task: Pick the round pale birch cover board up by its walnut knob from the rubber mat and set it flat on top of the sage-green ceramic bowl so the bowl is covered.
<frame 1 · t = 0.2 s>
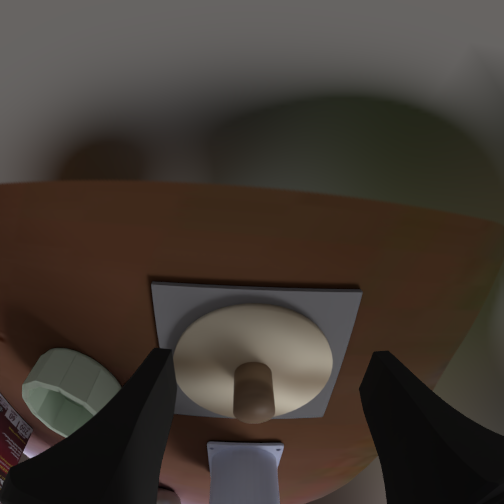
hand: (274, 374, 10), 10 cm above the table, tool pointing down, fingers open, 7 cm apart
bowl: (81, 383, 24), on the table
plastic bottle: (162, 489, 35), on the table
cover board: (252, 367, 23), resting on mat
supplement box: (8, 407, 28), on the table
mat: (252, 364, 23), on the table
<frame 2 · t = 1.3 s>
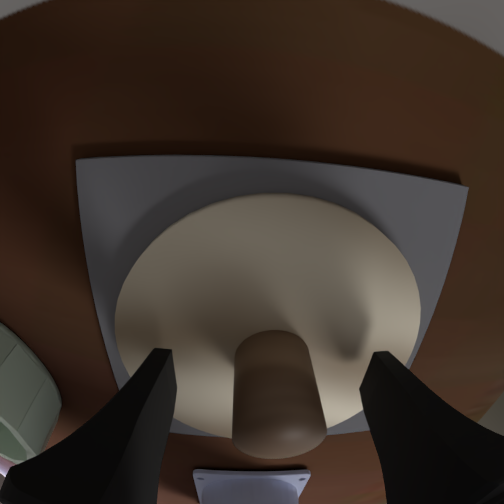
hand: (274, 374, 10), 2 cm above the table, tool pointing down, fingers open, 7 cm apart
bowl: (4, 369, 14), on the table
cover board: (270, 345, 12), resting on mat
mat: (270, 339, 12), on the table
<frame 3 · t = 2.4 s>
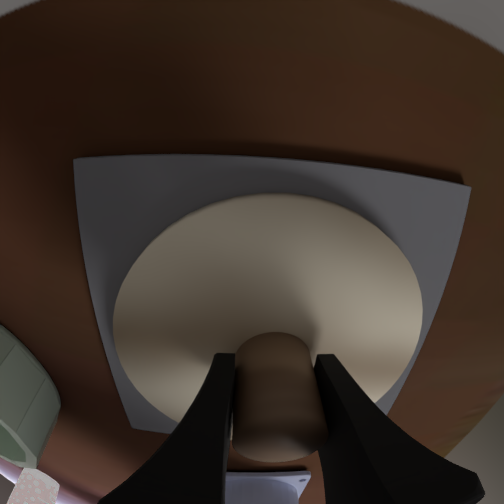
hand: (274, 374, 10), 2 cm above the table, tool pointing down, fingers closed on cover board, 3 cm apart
bowl: (3, 370, 13), on the table
cover board: (271, 347, 12), resting on mat, touching gripper
beverage cup: (42, 475, 21), on the table
mat: (270, 340, 12), on the table
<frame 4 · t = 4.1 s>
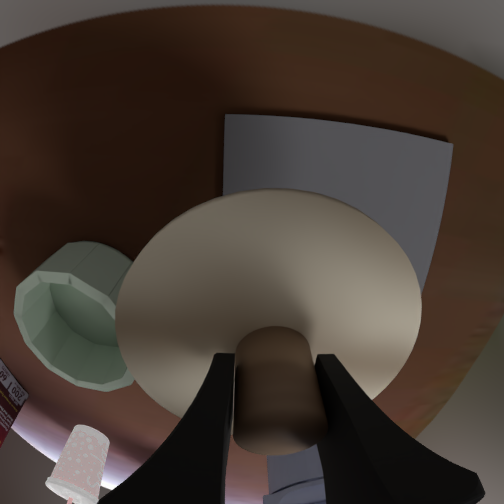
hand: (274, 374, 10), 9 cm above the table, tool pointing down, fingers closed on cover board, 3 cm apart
bowl: (97, 299, 20), on the table
cover board: (271, 341, 12), point 8 cm above the table, touching gripper
beverage cup: (92, 434, 28), on the table
mat: (339, 240, 19), on the table
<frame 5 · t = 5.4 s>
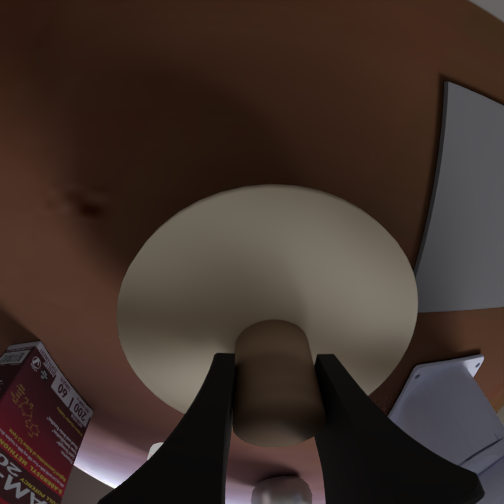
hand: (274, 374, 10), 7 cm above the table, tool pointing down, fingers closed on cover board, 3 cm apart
plastic bottle: (280, 479, 28), on the table
cover board: (270, 335, 12), point 5 cm above the table, touching gripper
supplement box: (51, 377, 21), on the table
when the fingers open (7 cm above the table, at t = 6.0 s): cover board stays where it is, resting on bowl.
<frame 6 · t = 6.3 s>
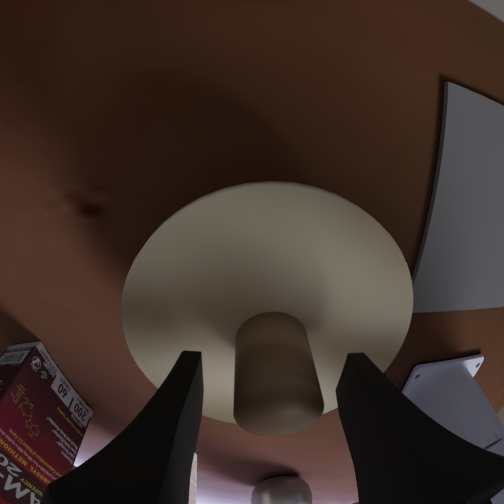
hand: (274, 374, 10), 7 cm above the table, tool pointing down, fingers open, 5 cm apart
plastic bottle: (280, 479, 28), on the table
cover board: (270, 328, 13), point 4 cm above the table, touching bowl
beverage cup: (174, 452, 25), on the table
supplement box: (51, 377, 21), on the table
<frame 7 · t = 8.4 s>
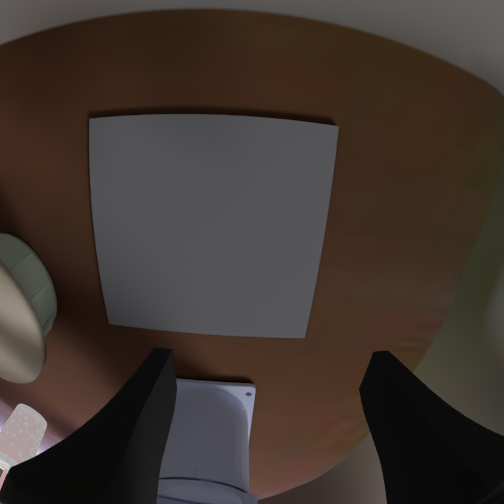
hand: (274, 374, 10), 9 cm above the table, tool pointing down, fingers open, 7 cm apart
bowl: (14, 285, 20), on the table
beverage cup: (32, 414, 27), on the table
mat: (204, 235, 18), on the table
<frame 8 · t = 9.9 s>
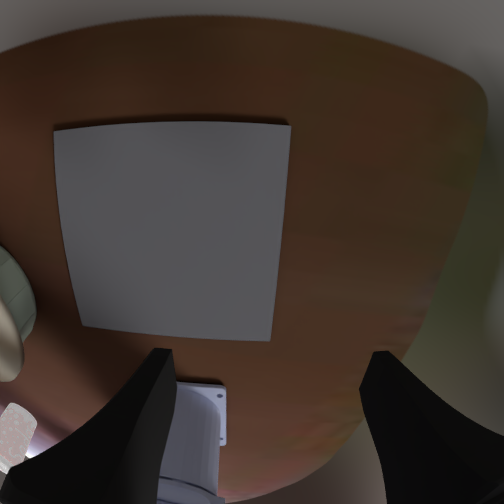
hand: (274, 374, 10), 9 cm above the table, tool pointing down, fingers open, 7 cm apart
beverage cup: (23, 413, 28), on the table
mat: (162, 240, 18), on the table
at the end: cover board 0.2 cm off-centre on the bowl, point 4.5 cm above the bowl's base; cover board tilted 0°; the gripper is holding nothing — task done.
